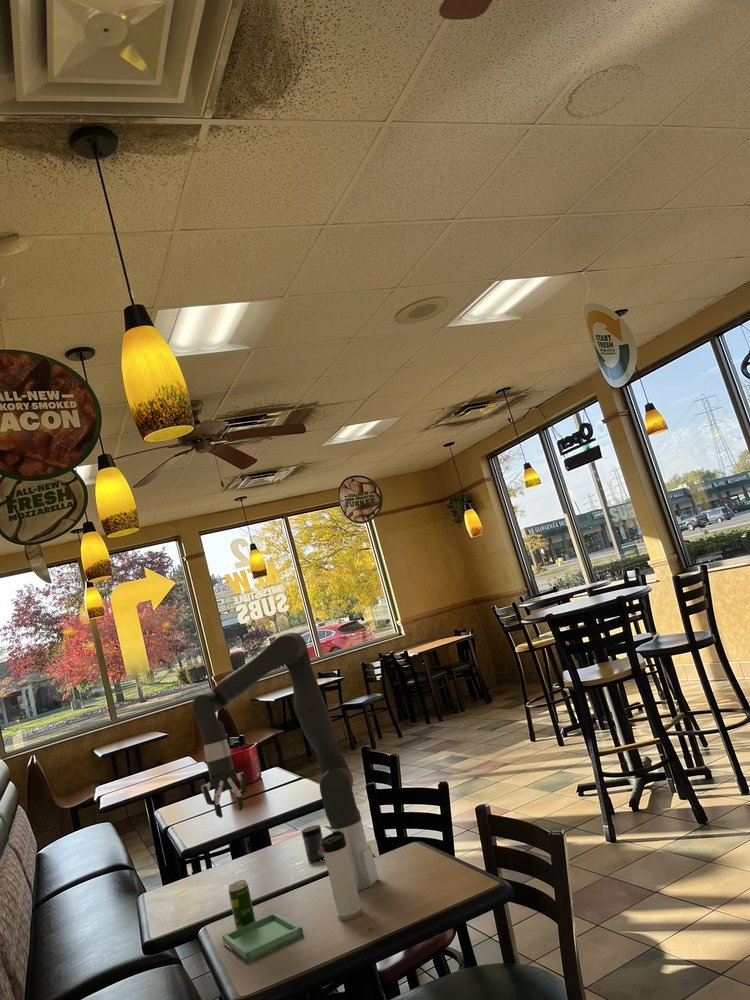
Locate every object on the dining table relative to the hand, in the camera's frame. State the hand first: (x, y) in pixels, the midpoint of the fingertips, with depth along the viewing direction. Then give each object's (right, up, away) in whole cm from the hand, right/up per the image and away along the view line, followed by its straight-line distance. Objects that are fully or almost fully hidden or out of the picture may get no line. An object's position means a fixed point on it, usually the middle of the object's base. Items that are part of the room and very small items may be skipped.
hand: (230, 813), depth 220 cm
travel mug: (+38, -13, -32) cm, 51 cm away
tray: (+15, -18, -33) cm, 41 cm away
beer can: (+9, -23, -22) cm, 33 cm away
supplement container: (+24, -29, +29) cm, 47 cm away
